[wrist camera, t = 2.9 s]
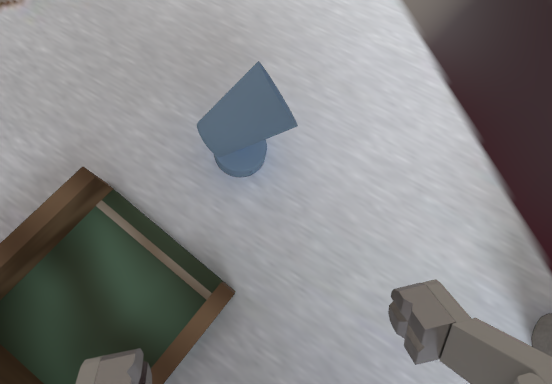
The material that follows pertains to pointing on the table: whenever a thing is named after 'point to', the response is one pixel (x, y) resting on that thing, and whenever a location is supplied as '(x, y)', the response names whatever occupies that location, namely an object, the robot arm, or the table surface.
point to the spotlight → (245, 123)
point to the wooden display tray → (98, 288)
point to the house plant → (543, 335)
